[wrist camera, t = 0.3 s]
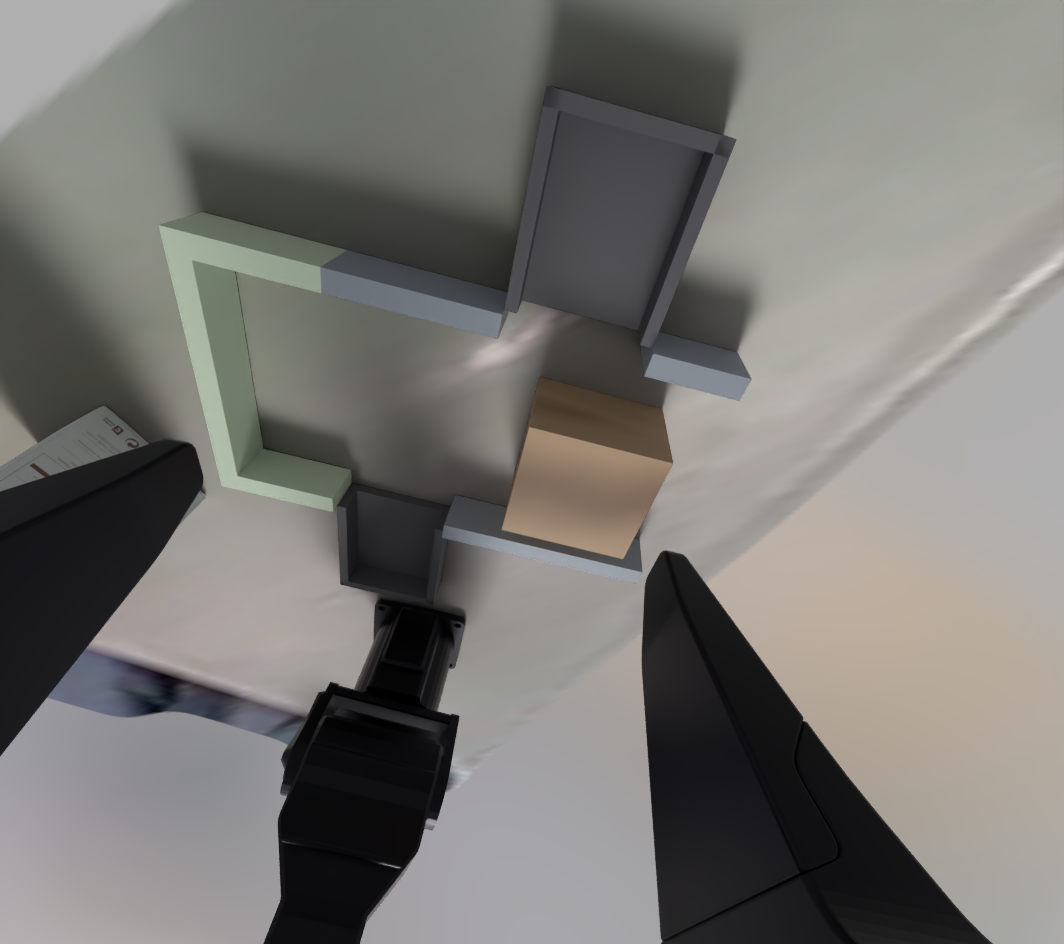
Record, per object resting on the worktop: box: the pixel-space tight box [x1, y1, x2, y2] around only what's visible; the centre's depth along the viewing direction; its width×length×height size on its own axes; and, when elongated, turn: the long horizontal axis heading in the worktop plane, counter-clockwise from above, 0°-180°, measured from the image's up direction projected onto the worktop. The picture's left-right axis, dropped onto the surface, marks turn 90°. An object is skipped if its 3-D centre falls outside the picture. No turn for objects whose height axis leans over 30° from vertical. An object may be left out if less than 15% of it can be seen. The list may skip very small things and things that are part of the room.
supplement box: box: [0, 406, 205, 526], centre depth 25 cm, size 7×7×13 cm
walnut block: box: [502, 377, 673, 559], centre depth 23 cm, size 6×6×4 cm
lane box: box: [159, 86, 751, 606], centre depth 23 cm, size 27×23×2 cm
